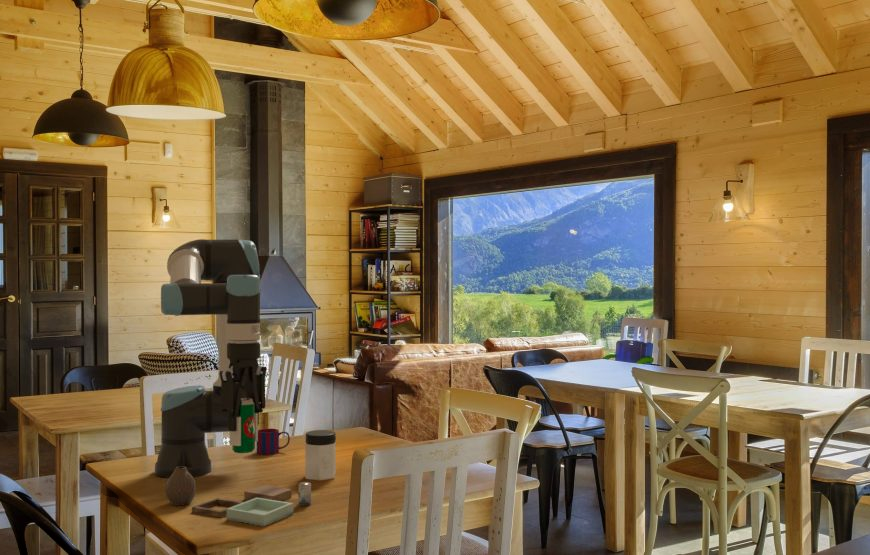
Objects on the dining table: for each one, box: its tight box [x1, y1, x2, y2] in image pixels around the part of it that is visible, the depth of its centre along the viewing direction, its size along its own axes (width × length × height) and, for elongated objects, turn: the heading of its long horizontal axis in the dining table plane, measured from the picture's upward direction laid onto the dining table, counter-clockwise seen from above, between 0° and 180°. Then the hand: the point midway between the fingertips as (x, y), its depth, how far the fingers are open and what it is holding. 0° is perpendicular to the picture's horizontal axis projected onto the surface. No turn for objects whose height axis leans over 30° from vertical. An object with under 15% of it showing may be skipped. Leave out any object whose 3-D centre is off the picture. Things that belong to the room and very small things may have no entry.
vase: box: [165, 466, 197, 507], centre depth 205 cm, size 7×7×9 cm
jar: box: [304, 429, 337, 481], centre depth 231 cm, size 9×8×12 cm
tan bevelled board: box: [243, 484, 292, 502], centre depth 209 cm, size 9×7×2 cm
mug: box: [256, 428, 291, 456], centre depth 261 cm, size 7×10×7 cm
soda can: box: [231, 398, 256, 454], centre depth 195 cm, size 5×5×12 cm
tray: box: [226, 498, 294, 527], centre depth 194 cm, size 11×11×2 cm
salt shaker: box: [297, 481, 312, 507], centre depth 204 cm, size 3×3×5 cm
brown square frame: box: [191, 497, 244, 518], centre depth 199 cm, size 9×9×1 cm
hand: (243, 442), depth 195 cm, fingers closed on soda can, 5 cm apart
